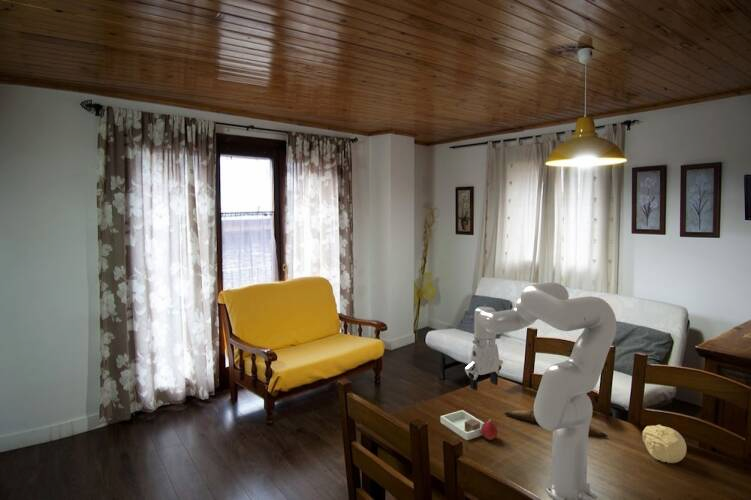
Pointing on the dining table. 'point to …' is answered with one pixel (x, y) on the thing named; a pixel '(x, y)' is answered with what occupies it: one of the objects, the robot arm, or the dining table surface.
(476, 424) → the walnut block
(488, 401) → the dining table surface
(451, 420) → the tray
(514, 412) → the bread
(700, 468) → the dining table surface
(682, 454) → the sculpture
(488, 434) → the onion
